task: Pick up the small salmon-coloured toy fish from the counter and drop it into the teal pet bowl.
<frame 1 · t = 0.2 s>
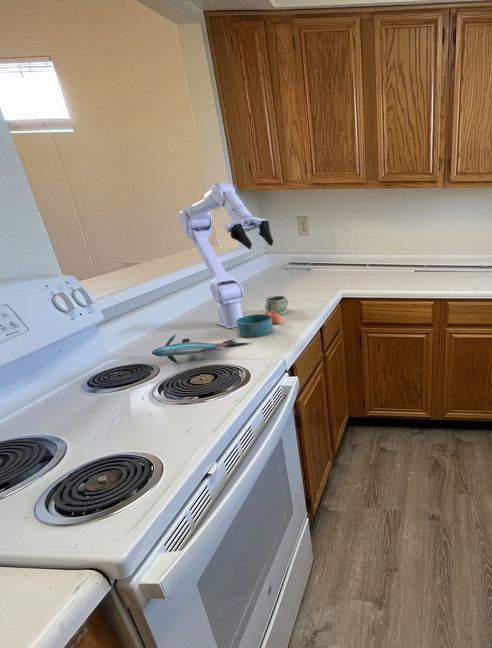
hand: (261, 245, 131), 31 cm above the countertop, tool tilted 45°, fingers open, 7 cm apart
toy fish: (274, 322, 161), on the countertop
teal pet bowl: (256, 332, 151), on the countertop
vessel: (278, 313, 175), on the countertop
fish: (203, 356, 130), on the countertop
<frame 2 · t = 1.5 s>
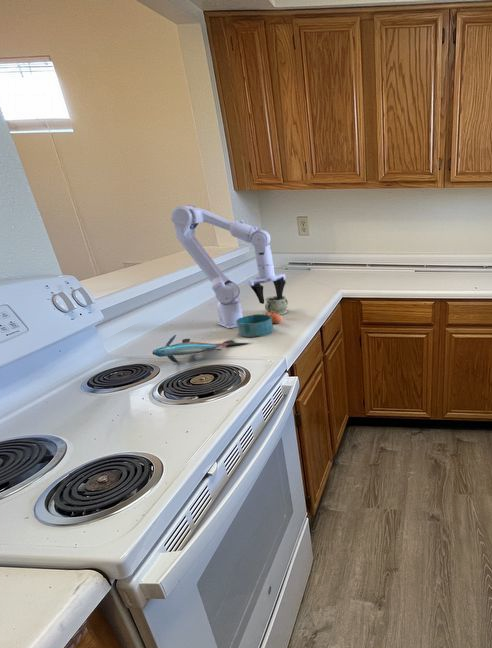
hand: (271, 301, 158), 8 cm above the countertop, tool pointing down, fingers open, 7 cm apart
nothing on the countertop moved.
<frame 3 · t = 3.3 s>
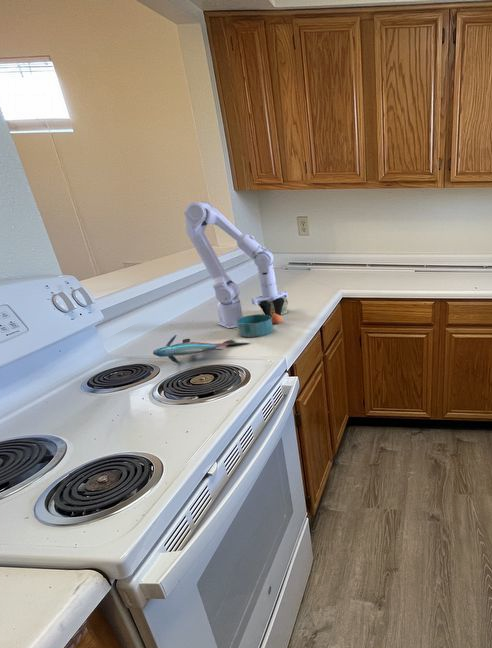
hand: (273, 319, 161), 1 cm above the countertop, tool pointing down, fingers closed on toy fish, 3 cm apart
toy fish: (274, 322, 161), on the countertop, touching gripper
everything else where it was.
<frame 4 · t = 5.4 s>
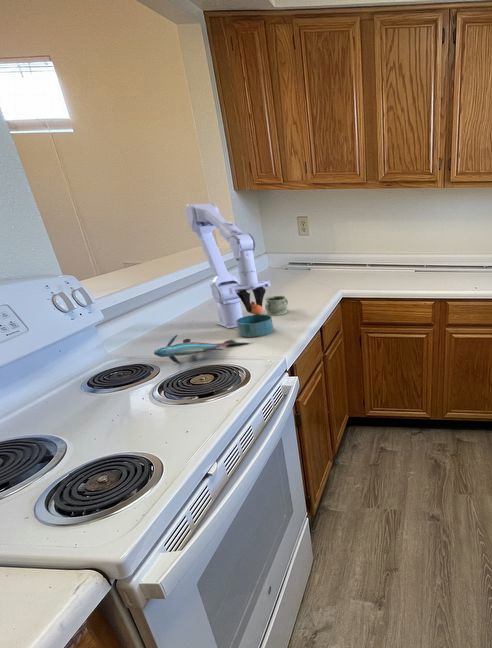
hand: (254, 310, 147), 8 cm above the countertop, tool pointing down, fingers closed on toy fish, 3 cm apart
toy fish: (255, 314, 148), point 7 cm above the countertop, touching gripper
everything else where it was.
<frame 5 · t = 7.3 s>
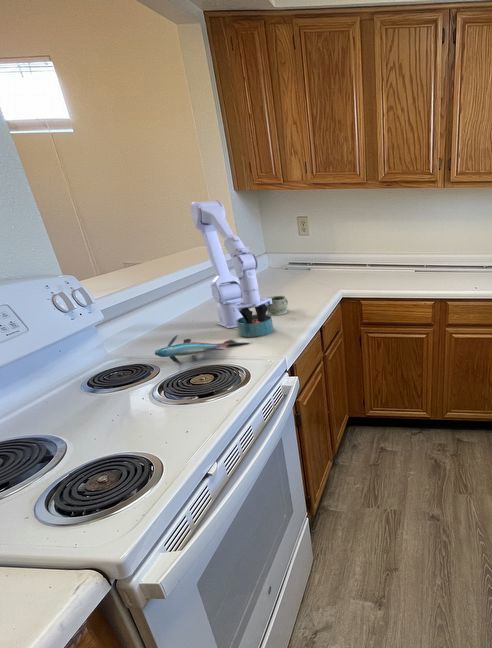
hand: (256, 327, 149), 2 cm above the countertop, tool pointing down, fingers closed on toy fish, 3 cm apart
toy fish: (257, 331, 150), point 1 cm above the countertop, touching gripper
everything else where it was.
when the fingers open (2 cm above the countertop, at t = 7.7 s): toy fish stays where it is and tips over, resting on teal pet bowl.
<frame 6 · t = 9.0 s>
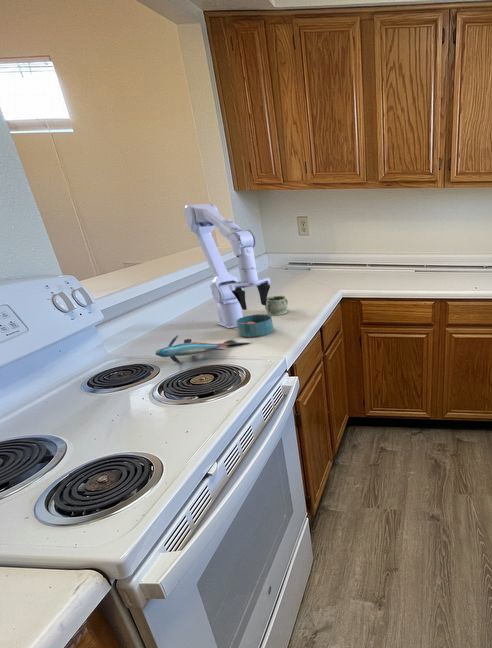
hand: (254, 307, 147), 9 cm above the countertop, tool pointing down, fingers open, 7 cm apart
toy fish: (257, 330, 150), point 1 cm above the countertop, tilted 41°, touching teal pet bowl
everything else where it was.
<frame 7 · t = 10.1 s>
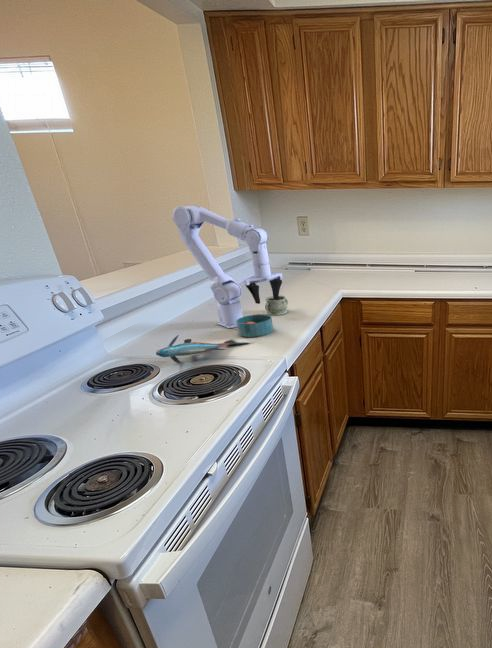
hand: (267, 301, 154), 9 cm above the countertop, tool pointing down, fingers open, 7 cm apart
nothing on the countertop moved.
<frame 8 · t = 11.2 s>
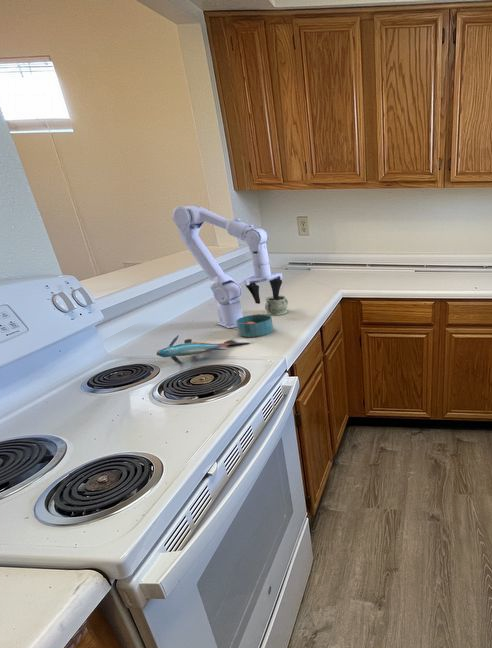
hand: (267, 301, 154), 9 cm above the countertop, tool pointing down, fingers open, 7 cm apart
at the end: toy fish inside the target area in the teal pet bowl (0.9 cm from its centre), point 0.9 cm above the teal pet bowl's base; the gripper is holding nothing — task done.
